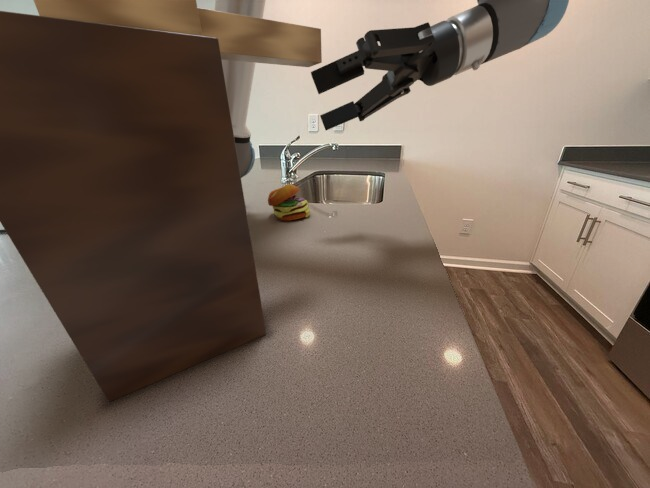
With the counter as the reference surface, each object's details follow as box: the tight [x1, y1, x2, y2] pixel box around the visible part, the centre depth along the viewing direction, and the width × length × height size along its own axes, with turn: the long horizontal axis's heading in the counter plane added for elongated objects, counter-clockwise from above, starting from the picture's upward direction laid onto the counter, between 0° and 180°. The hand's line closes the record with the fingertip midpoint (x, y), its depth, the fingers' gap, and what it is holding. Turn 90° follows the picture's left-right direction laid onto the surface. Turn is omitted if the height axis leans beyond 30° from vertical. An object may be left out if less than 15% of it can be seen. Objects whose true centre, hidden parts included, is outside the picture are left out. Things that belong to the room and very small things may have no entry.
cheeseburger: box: [267, 183, 311, 222], centre depth 71 cm, size 10×11×10 cm
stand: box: [0, 10, 267, 402], centre depth 27 cm, size 16×12×30 cm
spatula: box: [33, 0, 323, 68], centre depth 24 cm, size 22×11×3 cm, turn 122°
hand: (319, 106), depth 41 cm, fingers open, 13 cm apart
